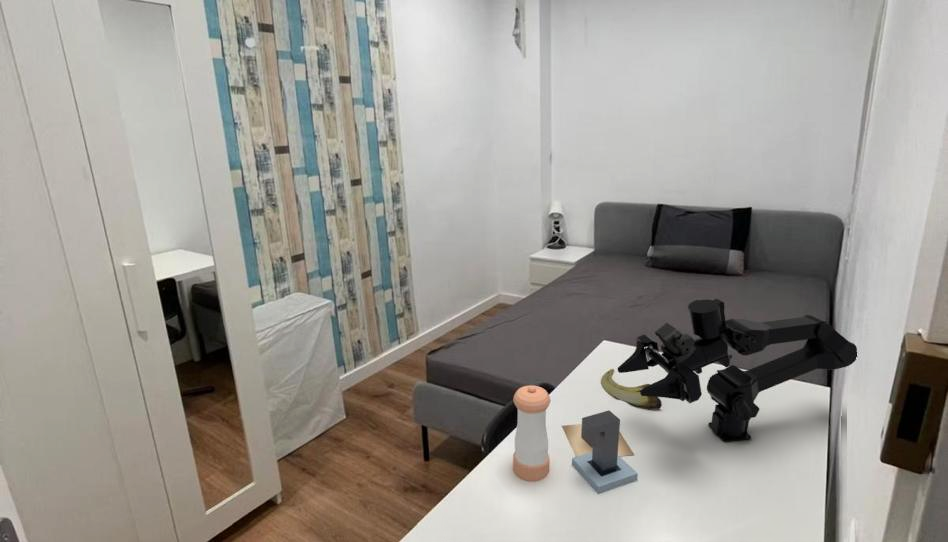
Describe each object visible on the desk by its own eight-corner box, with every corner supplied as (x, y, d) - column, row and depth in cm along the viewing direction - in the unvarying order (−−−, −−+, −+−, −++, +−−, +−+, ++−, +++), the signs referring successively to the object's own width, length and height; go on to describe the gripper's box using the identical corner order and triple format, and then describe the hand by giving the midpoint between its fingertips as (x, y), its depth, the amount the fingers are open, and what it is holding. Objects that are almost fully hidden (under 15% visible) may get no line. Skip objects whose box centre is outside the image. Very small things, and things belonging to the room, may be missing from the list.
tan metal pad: (612, 423, 117) (613, 421, 117) (634, 457, 106) (634, 454, 105) (561, 427, 116) (561, 425, 116) (577, 462, 104) (577, 460, 104)
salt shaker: (507, 464, 105) (506, 381, 99) (538, 455, 107) (539, 374, 101) (522, 487, 98) (523, 400, 92) (556, 477, 101) (558, 392, 95)
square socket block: (608, 454, 107) (609, 446, 106) (636, 481, 99) (637, 473, 98) (571, 466, 103) (572, 458, 103) (598, 495, 96) (598, 486, 95)
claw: (674, 403, 125) (675, 390, 124) (647, 418, 119) (648, 405, 118) (611, 373, 140) (611, 362, 139) (585, 385, 135) (585, 373, 134)
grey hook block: (605, 464, 103) (609, 410, 99) (616, 474, 100) (620, 419, 96) (579, 472, 101) (582, 417, 97) (589, 483, 98) (592, 427, 94)
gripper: (665, 303, 110) (600, 328, 109) (722, 339, 93) (646, 370, 91) (673, 346, 114) (610, 371, 113) (730, 389, 97) (656, 419, 95)
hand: (628, 381), depth 103 cm, fingers open, 9 cm apart
